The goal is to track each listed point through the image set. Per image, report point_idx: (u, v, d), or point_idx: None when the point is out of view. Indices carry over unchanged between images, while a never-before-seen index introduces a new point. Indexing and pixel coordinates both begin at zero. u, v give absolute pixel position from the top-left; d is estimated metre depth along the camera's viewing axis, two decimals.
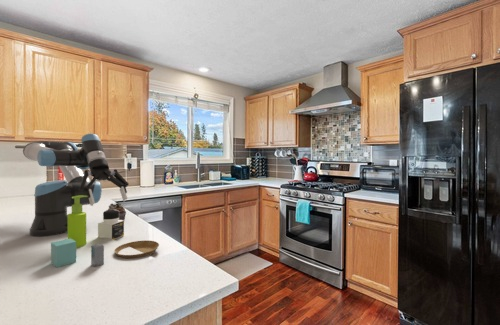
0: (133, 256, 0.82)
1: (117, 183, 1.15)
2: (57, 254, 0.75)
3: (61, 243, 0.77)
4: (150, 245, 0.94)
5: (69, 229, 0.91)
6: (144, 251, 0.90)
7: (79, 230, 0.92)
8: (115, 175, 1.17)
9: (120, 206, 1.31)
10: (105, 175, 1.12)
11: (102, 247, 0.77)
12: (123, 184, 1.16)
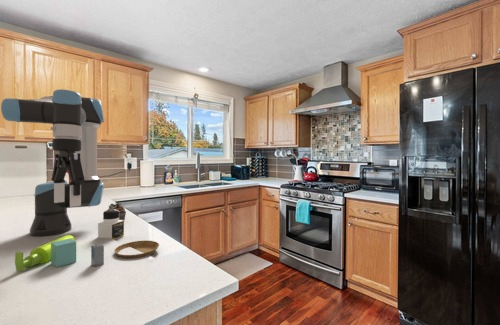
0: (133, 256, 0.82)
1: None
2: (57, 254, 0.75)
3: (61, 243, 0.77)
4: (150, 245, 0.94)
5: None
6: (144, 251, 0.90)
7: None
8: None
9: (120, 206, 1.31)
10: None
11: (102, 247, 0.77)
12: (72, 181, 0.74)
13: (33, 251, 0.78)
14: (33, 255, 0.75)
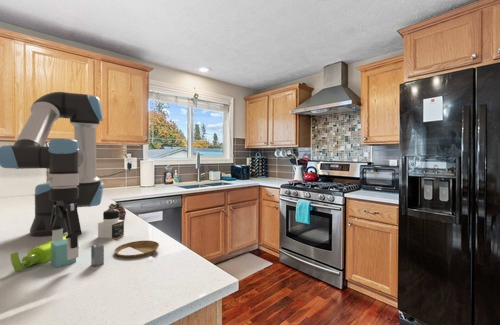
0: (133, 256, 0.82)
1: None
2: (57, 254, 0.75)
3: (61, 243, 0.77)
4: (150, 245, 0.94)
5: None
6: (144, 251, 0.90)
7: None
8: None
9: (120, 206, 1.31)
10: None
11: (102, 247, 0.77)
12: (68, 234, 0.72)
13: (30, 252, 0.78)
14: (30, 255, 0.75)
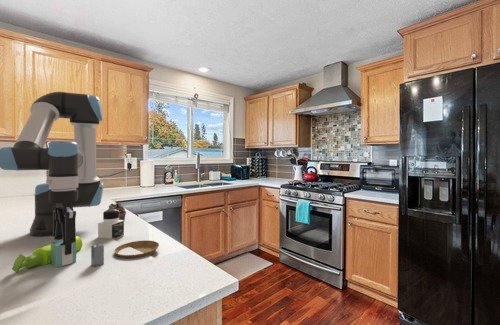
0: (133, 256, 0.82)
1: None
2: (57, 254, 0.75)
3: (61, 243, 0.77)
4: (150, 245, 0.94)
5: None
6: (144, 251, 0.90)
7: None
8: None
9: (120, 206, 1.31)
10: None
11: (102, 247, 0.77)
12: (63, 241, 0.75)
13: (38, 250, 0.77)
14: (34, 258, 0.74)
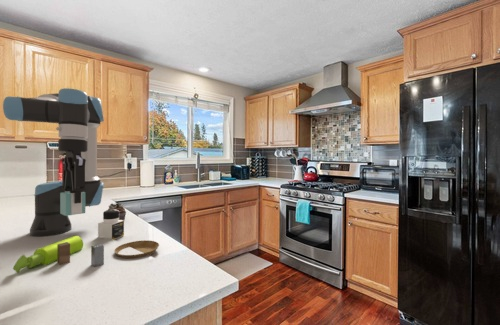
0: (133, 256, 0.82)
1: None
2: (66, 202, 0.74)
3: (70, 193, 0.76)
4: (150, 245, 0.94)
5: None
6: (144, 251, 0.90)
7: None
8: None
9: (120, 206, 1.31)
10: None
11: (102, 247, 0.77)
12: (73, 189, 0.74)
13: (40, 250, 0.77)
14: (35, 259, 0.74)
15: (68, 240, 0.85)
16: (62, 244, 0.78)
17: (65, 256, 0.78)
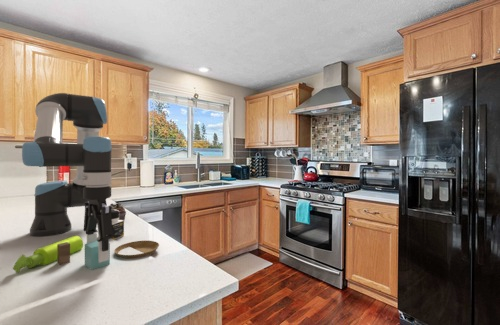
0: (133, 256, 0.82)
1: None
2: (92, 256, 0.74)
3: (95, 245, 0.76)
4: (150, 245, 0.94)
5: None
6: (144, 251, 0.90)
7: None
8: None
9: (120, 206, 1.31)
10: None
11: None
12: (100, 237, 0.73)
13: (40, 250, 0.77)
14: (35, 259, 0.74)
15: (68, 240, 0.85)
16: (62, 244, 0.78)
17: (65, 256, 0.78)
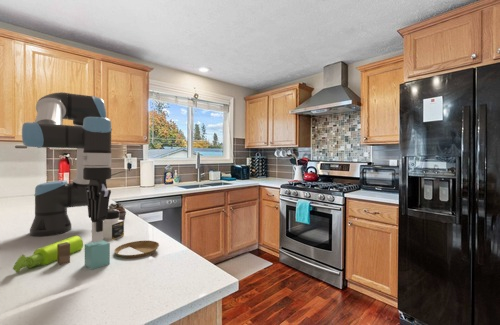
0: (133, 256, 0.82)
1: None
2: (92, 256, 0.74)
3: (95, 245, 0.76)
4: (150, 245, 0.94)
5: None
6: (144, 251, 0.90)
7: None
8: None
9: (120, 206, 1.31)
10: None
11: None
12: (95, 218, 0.75)
13: (40, 250, 0.77)
14: (35, 259, 0.74)
15: (68, 240, 0.85)
16: (62, 244, 0.78)
17: (65, 256, 0.78)
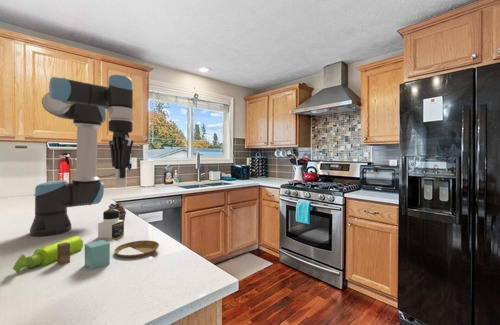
0: (133, 256, 0.82)
1: None
2: (92, 256, 0.74)
3: (95, 245, 0.76)
4: (150, 245, 0.94)
5: None
6: (144, 251, 0.90)
7: None
8: None
9: (120, 206, 1.31)
10: None
11: None
12: (119, 166, 0.84)
13: (40, 250, 0.77)
14: (35, 259, 0.74)
15: (68, 240, 0.85)
16: (62, 244, 0.78)
17: (65, 256, 0.78)
